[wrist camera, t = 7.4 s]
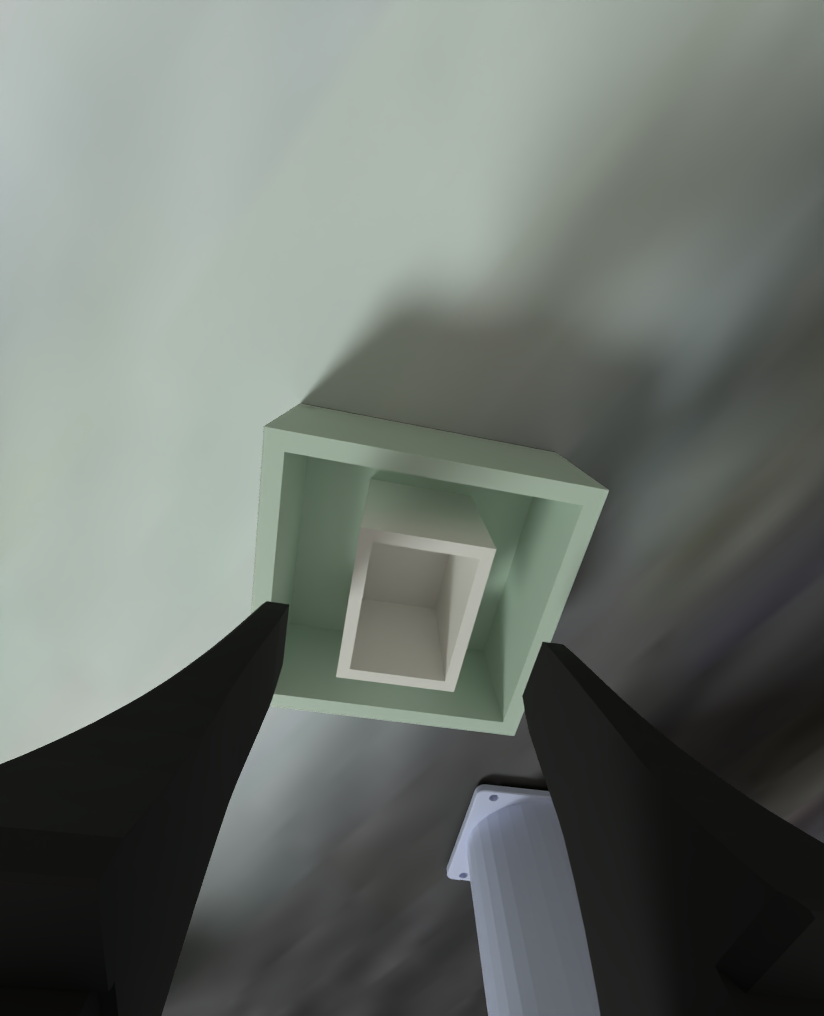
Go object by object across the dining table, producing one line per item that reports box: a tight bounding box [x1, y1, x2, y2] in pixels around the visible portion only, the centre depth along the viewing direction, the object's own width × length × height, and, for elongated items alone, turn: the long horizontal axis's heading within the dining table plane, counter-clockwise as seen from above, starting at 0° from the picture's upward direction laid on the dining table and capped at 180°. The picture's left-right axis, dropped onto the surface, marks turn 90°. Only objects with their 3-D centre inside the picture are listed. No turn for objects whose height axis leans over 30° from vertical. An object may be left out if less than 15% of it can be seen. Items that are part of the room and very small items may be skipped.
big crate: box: [251, 404, 609, 736], centre depth 16 cm, size 10×10×4 cm
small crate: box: [336, 479, 496, 692], centre depth 15 cm, size 4×6×4 cm
